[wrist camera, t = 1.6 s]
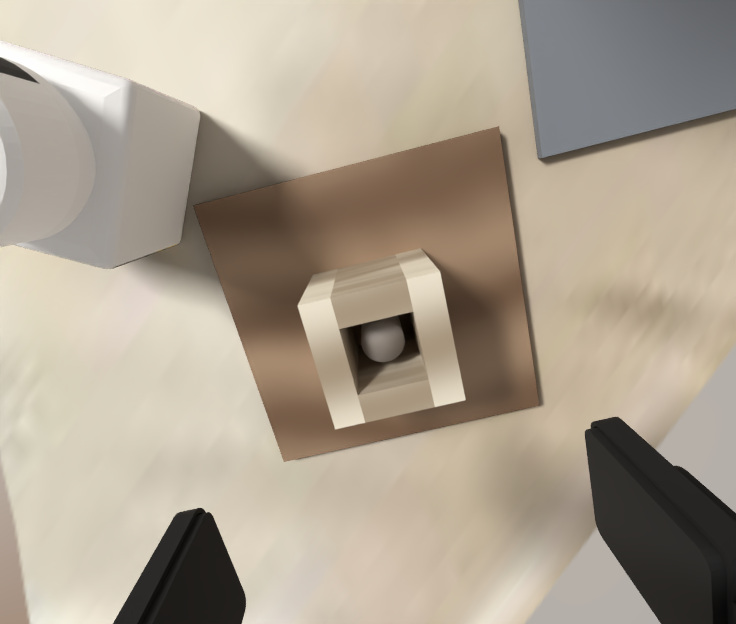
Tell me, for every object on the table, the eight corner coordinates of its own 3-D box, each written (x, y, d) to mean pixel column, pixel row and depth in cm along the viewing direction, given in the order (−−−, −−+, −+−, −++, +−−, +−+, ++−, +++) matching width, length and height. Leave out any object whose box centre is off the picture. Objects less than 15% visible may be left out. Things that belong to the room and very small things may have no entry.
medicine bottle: (48, 209, 23) (-254, 241, 12) (58, 65, 21) (-293, -63, 10) (182, 246, 24) (18, 309, 13) (204, 109, 22) (32, 37, 11)
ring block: (312, 274, 24) (297, 305, 18) (420, 248, 23) (439, 271, 18) (341, 372, 26) (335, 429, 20) (442, 349, 25) (465, 400, 19)
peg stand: (198, 204, 23) (153, 212, 18) (494, 128, 22) (533, 113, 17) (286, 454, 28) (269, 515, 23) (534, 399, 27) (573, 450, 22)
